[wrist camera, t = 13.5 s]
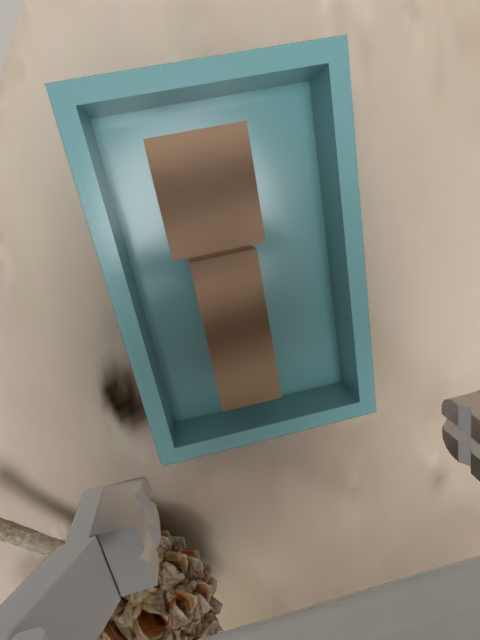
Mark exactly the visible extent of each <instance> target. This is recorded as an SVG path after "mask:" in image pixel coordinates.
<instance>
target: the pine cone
mask: <svg viewBox="0 0 480 640" xmlns="http://www.w3.org/2000/svg"><path fill="white" fill-rule="evenodd" d="M0 541H5V542H8V543H10V544H13V545H16V546H20V547H23V548H25V549H27V550H29V551H34V552H39V553H41V554H43V555H45V556H47V557H48V556H49V555H50V554H51V553H52V552H53V551H54V550H55V549H56V548H57V547H58V546H60V545H64V544H65V542H66V541H62V540H59V539H56V538H53V537H50V536H47V535H45V534H43V533H40V532H38V531H36V530H33V529H30V528H27V527H25V526H22V525H20V524H18V523H15V522H13V521H9V520H5V519H3V518H0ZM156 551H157V554H158V557H159V571H158V585H157V586H154V587H151V588H148V589H145V590H142V591H139V592H135V593H132V594H129V595H126V596H123V597H120V598H121V600H120V602H119V604H118V605H117V607H116V609H115V610H114V612H113V614H112V615H111V617H110V619H109V621H108V622H107V624H106V626H105V627H104V629H103V631H102V633H101V634H100V636H99V638H98V639H97V640H197V639H201V638H204V637H208V636H211V635H214V634H217V632H218V631H223V629H222V628H221V627H220V625H219V622H218V619H217V617H216V616H215V615H216V614H219V613H220V611H221V608H222V605H223V604H221V603H220V602H219V601H218V600H217V599H215V598H213V594H214V593H215V592H216V586H217V580H216V579H214V578H213V577H212V576H211V574H212V568H211V564H210V563H208V562H206V561H204V560H203V559H202V558H200V553H199V552H198V551H196V550H193V549H191V550H186V541H185V539H184V537H178V536H172V537H171V535H170V533H169V532H168V530H164V531H161V539H160V544H159V546H158V547H157V549H156Z"/></svg>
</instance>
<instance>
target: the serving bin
mask: <svg viewBox="0 0 480 640" xmlns="http://www.w3.org/2000/svg"><path fill="white" fill-rule="evenodd" d="M45 86H46V89H47V93H48V96H49V99H50V102H51V106H52V109H53V112H54V115H55V119H56V122H57V125H58V128H59V132H60V135H61V138H62V142H63V145H64V148H65V151H66V155H67V158H68V161H69V164H70V168H71V171H72V174H73V177H74V181H75V184H76V187H77V191H78V194H79V197H80V200H81V204H82V207H83V210H84V213H85V217H86V220H87V223H88V226H89V230H90V233H91V236H92V240H93V243H94V246H95V249H96V253H97V256H98V259H99V262H100V266H101V269H102V272H103V275H104V279H105V282H106V285H107V289H108V292H109V295H110V298H111V302H112V305H113V308H114V311H115V315H116V318H117V321H118V324H119V328H120V331H121V334H122V338H123V341H124V344H125V347H126V351H127V354H128V357H129V360H130V364H131V367H132V370H133V374H134V377H135V380H136V383H137V387H138V390H139V393H140V396H141V400H142V403H143V406H144V409H145V413H146V416H147V419H148V423H149V426H150V429H151V432H152V436H153V439H154V442H155V445H156V449H157V452H158V455H159V458H160V462H161V465H162V466H165V465H169V464H173V463H177V462H181V461H185V460H189V459H193V458H197V457H201V456H204V455H208V454H212V453H216V452H220V451H224V450H228V449H232V448H236V447H240V446H244V445H248V444H252V443H256V442H260V441H264V440H268V439H272V438H276V437H280V436H283V435H287V434H291V433H295V432H299V431H303V430H307V429H311V428H315V427H319V426H323V425H327V424H331V423H335V422H339V421H343V420H347V419H351V418H355V417H359V416H362V415H366V414H370V413H374V412H376V402H375V389H374V376H373V363H372V350H371V337H370V324H369V311H368V298H367V285H366V272H365V260H364V247H363V234H362V221H361V208H360V195H359V182H358V169H357V156H356V143H355V130H354V117H353V104H352V92H351V79H350V66H349V53H348V40H347V34H346V35H340V36H334V37H328V38H322V39H315V40H309V41H303V42H297V43H291V44H285V45H279V46H272V47H266V48H260V49H254V50H248V51H242V52H235V53H229V54H223V55H217V56H211V57H205V58H199V59H192V60H186V61H180V62H174V63H168V64H162V65H156V66H149V67H143V68H137V69H131V70H125V71H119V72H112V73H106V74H100V75H94V76H88V77H82V78H76V79H69V80H63V81H57V82H51V83H45ZM246 120H247V127H248V133H249V139H250V145H251V152H252V158H253V164H254V170H255V177H256V183H257V189H258V195H259V201H260V208H261V214H262V220H263V226H264V233H265V239H266V242H263V243H258V244H253V245H251V246H253V247H255V248H256V249H257V254H258V260H259V265H260V271H261V277H262V283H263V289H264V295H265V301H266V307H267V313H268V319H269V325H270V330H271V336H272V342H273V348H274V354H275V360H276V366H277V372H278V378H279V384H280V390H281V395H282V398H278V399H273V400H269V401H265V402H261V403H257V404H253V405H249V406H245V407H241V408H237V409H233V410H229V411H224V412H223V409H222V404H221V400H220V396H219V391H218V387H217V383H216V378H215V374H214V370H213V365H212V361H211V356H210V352H209V348H208V343H207V339H206V335H205V330H204V326H203V322H202V317H201V313H200V309H199V304H198V300H197V295H196V291H195V287H194V282H193V278H192V274H191V269H190V265H189V259H188V258H186V259H181V260H176V261H172V257H171V253H170V249H169V245H168V241H167V237H166V232H165V228H164V224H163V220H162V216H161V212H160V208H159V204H158V200H157V196H156V191H155V187H154V183H153V179H152V175H151V171H150V167H149V163H148V159H147V154H146V150H145V146H144V142H143V139H146V138H152V137H157V136H163V135H168V134H174V133H180V132H185V131H191V130H196V129H202V128H207V127H213V126H219V125H224V124H230V123H235V122H241V121H246Z"/></svg>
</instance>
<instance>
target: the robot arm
mask: <svg viewBox="0 0 480 640" xmlns="http://www.w3.org/2000/svg"><path fill="white" fill-rule="evenodd" d="M442 414H443V415H444V416H445V417H446V418H447V420H446V422H445V424H444V425H443V427H442V434H443V440H444V443H445V445H446V448H447V449H448V451H449V452H450V454H451V455H452V456H453V457H454V458H455V459H456V460H457V461H458V462H460V463H463V464H466V465H469V466H470V468H471V474H472V475H473V476H475V477H476V478H477V479H478V480H479V481H480V390H478V391H476V392H472V393H469V394H465V395H461V396H457V397H453V398H449V399H446V400H444V401H443V403H442ZM150 493H151V488H150V485H149V482H148V480H147V478H146V477H145V476H144V477H140V478H136V479H131V480H127V481H123V482H119V483H114V484H110V485H106V486H102V487H98V488H94V489H90V490H86V491H85V492H84V493H83V494H82V497H81V500H80V502H79V505H78V508H77V511H76V514H75V517H74V519H73V522H72V525H71V528H70V531H69V534H68V536H67V539H66V542H65V544H64V545H60V546H58V547H57V548H56V549H55V550H54V551H53V552H52V553H51V554H50V555H49V556H48V557H47V558H46V559H45V560H44V561H43V562H42V563H41V564H40V565H39V566H38V567H37V568H36V569H35V570H34V571H33V572H32V573H31V574H30V575H29V576H28V577H27V578H26V580H25V581H24V582H23V583H22V584H21V585H20V586H19V587H18V588H17V589H16V590H15V591H14V592H13V593H12V594H11V595H10V596H9V597H8V598H7V599H6V600H5V601H4V602H3V603H2V604H1V605H0V640H97V639H98V638H99V636H100V634H101V633H102V631H103V629H104V627H105V626H106V624H107V622H108V621H109V619H110V617H111V615H112V614H113V612H114V610H115V609H116V607H117V605H118V604H119V602H120V600H121V598H120V597H123V596H126V595H129V594H132V593H135V592H139V591H142V590H145V589H148V588H151V587H154V586H157V585H158V571H159V557H158V554H157V551H156V549H157V547H158V546H159V544H160V539H161V529H160V519H159V514H158V510H157V507H156V503H154V502H153V501H151V500H150ZM197 640H480V556H477V557H473V558H470V559H466V560H463V561H460V562H456V563H453V564H450V565H446V566H443V567H439V568H436V569H433V570H429V571H426V572H423V573H419V574H416V575H412V576H409V577H406V578H402V579H399V580H396V581H392V582H389V583H385V584H382V585H379V586H375V587H372V588H369V589H365V590H362V591H359V592H355V593H352V594H348V595H345V596H342V597H338V598H335V599H332V600H328V601H325V602H322V603H318V604H315V605H312V606H308V607H305V608H301V609H298V610H295V611H291V612H288V613H285V614H281V615H278V616H275V617H271V618H268V619H265V620H261V621H258V622H255V623H251V624H248V625H245V626H241V627H238V628H234V629H231V630H228V631H224V632H221V633H218V634H214V635H211V636H208V637H204V638H201V639H197Z"/></svg>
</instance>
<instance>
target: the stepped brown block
mask: <svg viewBox="0 0 480 640" xmlns="http://www.w3.org/2000/svg"><path fill="white" fill-rule="evenodd" d="M143 142H144V146H145V150H146V154H147V159H148V163H149V167H150V171H151V175H152V179H153V183H154V187H155V191H156V196H157V200H158V204H159V208H160V212H161V216H162V220H163V224H164V228H165V232H166V237H167V241H168V245H169V249H170V253H171V257H172V261H176V260H181V259H186V258H188V259H189V265H190V269H191V274H192V278H193V282H194V287H195V291H196V295H197V300H198V304H199V309H200V313H201V317H202V322H203V326H204V330H205V335H206V339H207V343H208V348H209V352H210V356H211V361H212V365H213V370H214V374H215V378H216V383H217V387H218V391H219V396H220V400H221V404H222V409H223V412H224V411H229V410H233V409H237V408H241V407H245V406H249V405H253V404H257V403H261V402H265V401H269V400H273V399H278V398H282V395H281V390H280V384H279V378H278V372H277V366H276V360H275V354H274V348H273V342H272V336H271V330H270V325H269V319H268V313H267V307H266V301H265V295H264V289H263V283H262V277H261V271H260V265H259V260H258V254H257V249H256V248H255V247H253V246H251V245H253V244H258V243H263V242H266V239H265V233H264V226H263V220H262V214H261V208H260V201H259V195H258V189H257V183H256V177H255V170H254V164H253V158H252V152H251V145H250V139H249V133H248V127H247V120H246V121H241V122H235V123H230V124H224V125H219V126H213V127H207V128H202V129H196V130H191V131H185V132H180V133H174V134H168V135H163V136H157V137H152V138H146V139H143Z"/></svg>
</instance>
